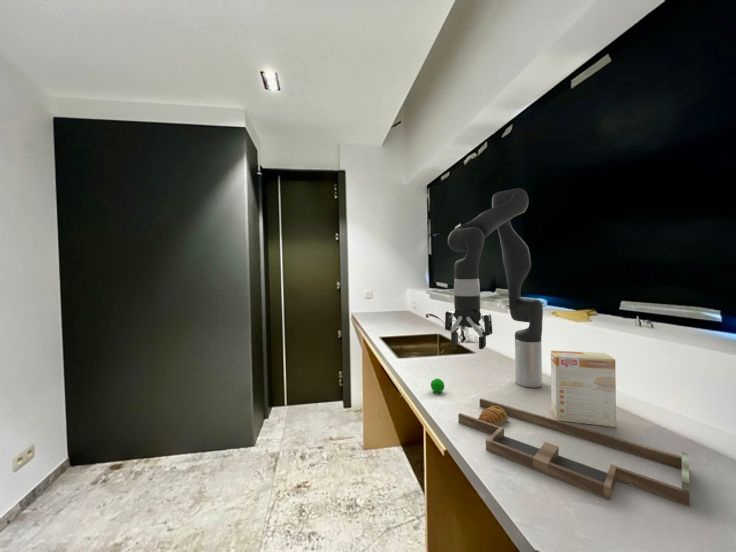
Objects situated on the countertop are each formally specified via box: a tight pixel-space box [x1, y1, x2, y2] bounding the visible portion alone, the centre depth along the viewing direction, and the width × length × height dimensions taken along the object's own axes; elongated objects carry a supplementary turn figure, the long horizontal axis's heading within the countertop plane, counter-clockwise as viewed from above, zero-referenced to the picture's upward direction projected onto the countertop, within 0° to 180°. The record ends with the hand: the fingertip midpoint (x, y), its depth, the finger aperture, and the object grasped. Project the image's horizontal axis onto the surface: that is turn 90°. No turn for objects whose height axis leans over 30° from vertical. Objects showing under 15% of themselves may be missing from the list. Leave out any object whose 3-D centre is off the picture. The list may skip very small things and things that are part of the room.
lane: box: [457, 398, 691, 507], centre depth 78 cm, size 23×48×4 cm, turn 45°
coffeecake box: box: [550, 350, 617, 428], centre depth 93 cm, size 15×7×20 cm, turn 71°
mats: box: [498, 435, 608, 483], centre depth 73 cm, size 8×23×1 cm, turn 45°
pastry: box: [477, 406, 509, 427], centre depth 93 cm, size 9×7×4 cm
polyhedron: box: [430, 377, 445, 394], centre depth 116 cm, size 5×5×5 cm
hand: (468, 346), depth 95 cm, fingers open, 8 cm apart
